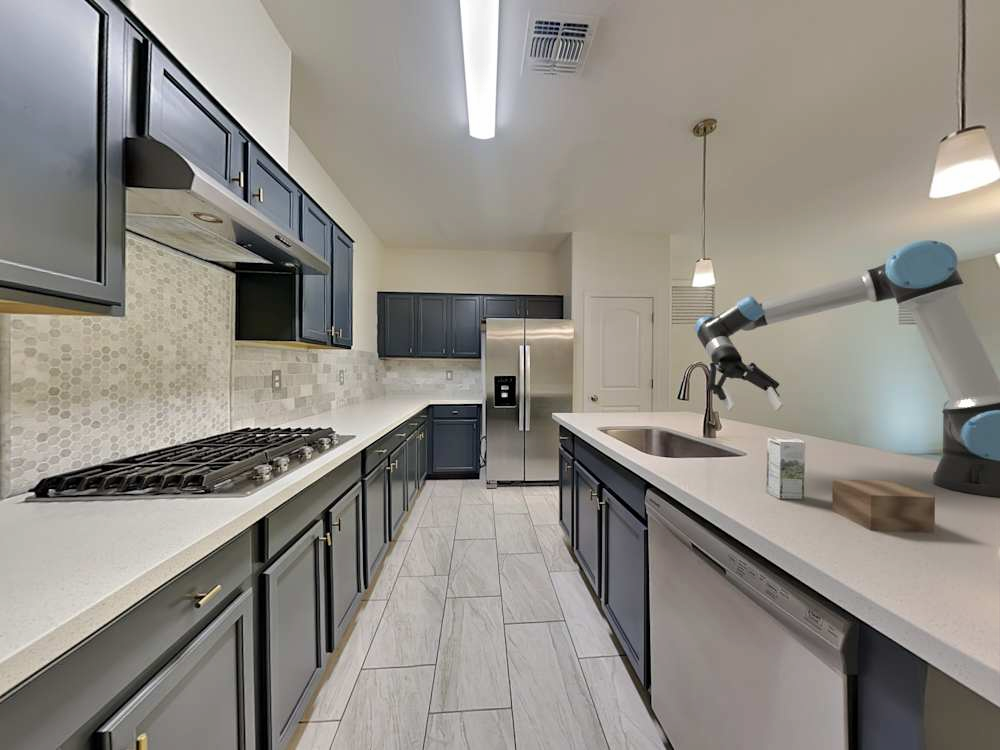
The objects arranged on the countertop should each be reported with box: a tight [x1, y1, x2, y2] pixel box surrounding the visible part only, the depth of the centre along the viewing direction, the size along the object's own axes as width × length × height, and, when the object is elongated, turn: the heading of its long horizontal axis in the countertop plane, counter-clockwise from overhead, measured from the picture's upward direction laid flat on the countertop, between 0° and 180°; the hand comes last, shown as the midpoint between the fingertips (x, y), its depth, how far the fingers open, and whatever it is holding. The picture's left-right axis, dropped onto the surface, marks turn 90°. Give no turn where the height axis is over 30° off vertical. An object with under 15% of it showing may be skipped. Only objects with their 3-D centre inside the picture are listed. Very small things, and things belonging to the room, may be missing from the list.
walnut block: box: [831, 479, 936, 534], centre depth 83 cm, size 11×11×7 cm
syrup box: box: [766, 436, 806, 501], centre depth 98 cm, size 6×6×14 cm
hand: (756, 408), depth 109 cm, fingers open, 13 cm apart
